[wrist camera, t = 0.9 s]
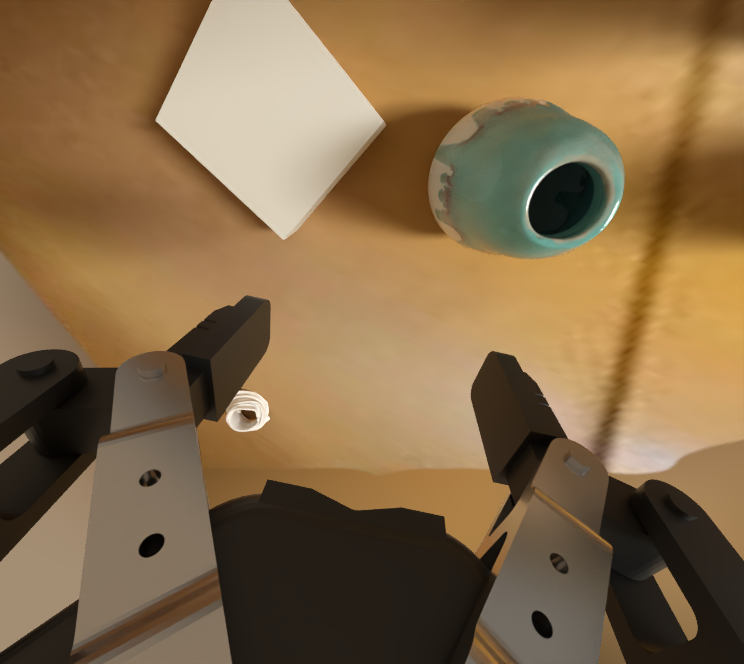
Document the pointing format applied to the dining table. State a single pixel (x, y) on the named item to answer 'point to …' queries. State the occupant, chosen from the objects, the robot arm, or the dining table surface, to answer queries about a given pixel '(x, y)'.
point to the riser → (268, 110)
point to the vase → (524, 180)
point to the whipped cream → (247, 402)
